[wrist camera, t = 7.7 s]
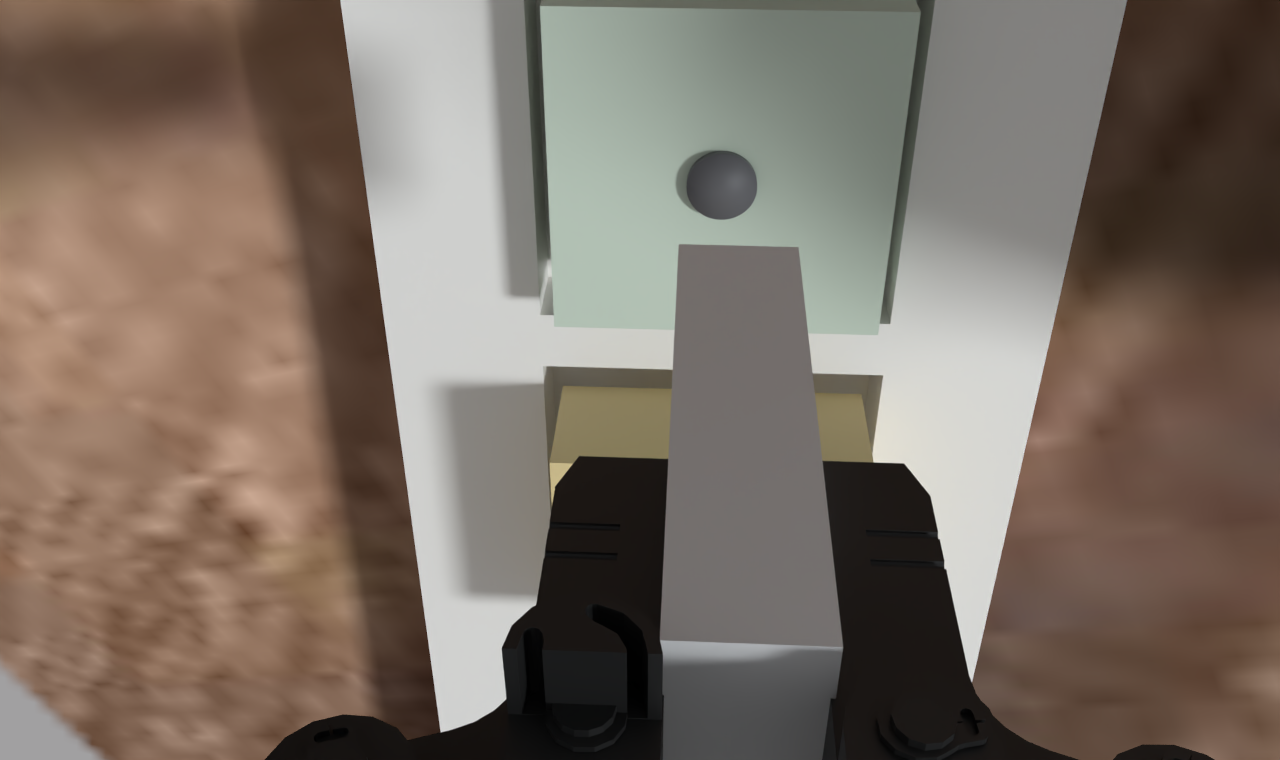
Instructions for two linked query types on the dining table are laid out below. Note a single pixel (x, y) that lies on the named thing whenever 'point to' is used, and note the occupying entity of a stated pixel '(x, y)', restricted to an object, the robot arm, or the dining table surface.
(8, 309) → the dining table surface
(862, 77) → the tile one
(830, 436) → the tile two
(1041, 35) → the panel
